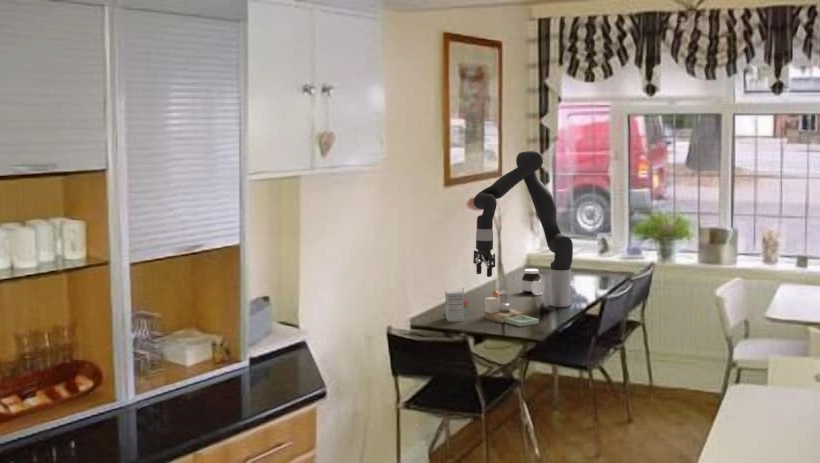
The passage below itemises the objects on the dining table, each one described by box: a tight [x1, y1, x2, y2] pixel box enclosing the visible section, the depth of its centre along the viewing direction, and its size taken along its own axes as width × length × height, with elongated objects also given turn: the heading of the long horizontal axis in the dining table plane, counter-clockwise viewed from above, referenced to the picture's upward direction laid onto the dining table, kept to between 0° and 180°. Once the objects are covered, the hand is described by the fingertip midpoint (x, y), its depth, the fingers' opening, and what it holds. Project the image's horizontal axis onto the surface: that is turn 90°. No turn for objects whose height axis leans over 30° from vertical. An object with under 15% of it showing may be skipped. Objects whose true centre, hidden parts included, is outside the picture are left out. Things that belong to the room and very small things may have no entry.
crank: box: [492, 290, 512, 312], centre depth 436 cm, size 13×5×7 cm, turn 22°
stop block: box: [484, 296, 499, 313], centre depth 433 cm, size 4×4×6 cm
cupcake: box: [461, 287, 470, 315], centre depth 444 cm, size 9×8×12 cm
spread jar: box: [521, 268, 545, 296], centre depth 485 cm, size 12×11×12 cm
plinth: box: [483, 307, 527, 324], centre depth 433 cm, size 13×13×3 cm
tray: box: [505, 315, 540, 328], centre depth 423 cm, size 10×10×2 cm
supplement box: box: [444, 289, 465, 323], centre depth 432 cm, size 7×7×13 cm
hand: (484, 275), depth 433 cm, fingers open, 8 cm apart
